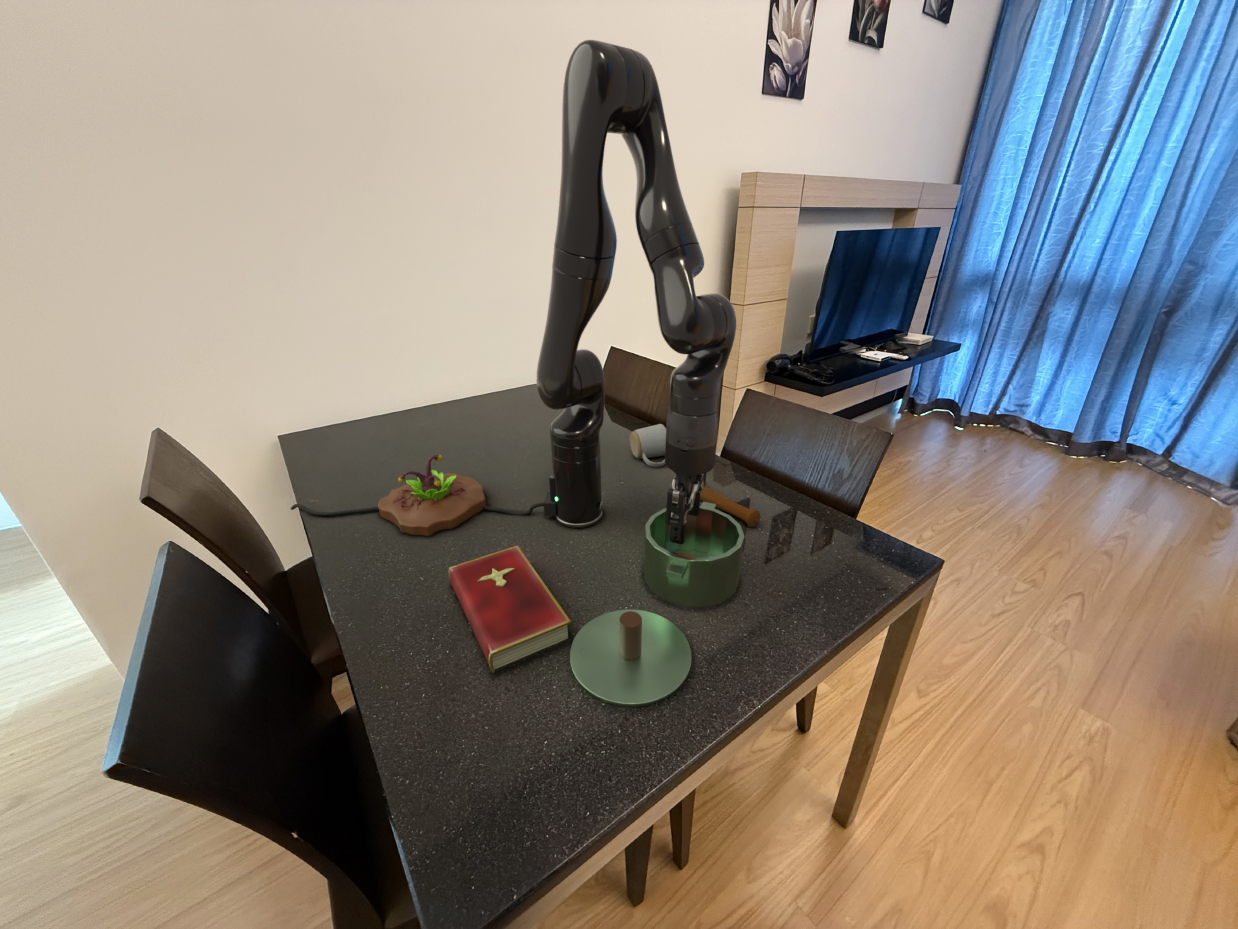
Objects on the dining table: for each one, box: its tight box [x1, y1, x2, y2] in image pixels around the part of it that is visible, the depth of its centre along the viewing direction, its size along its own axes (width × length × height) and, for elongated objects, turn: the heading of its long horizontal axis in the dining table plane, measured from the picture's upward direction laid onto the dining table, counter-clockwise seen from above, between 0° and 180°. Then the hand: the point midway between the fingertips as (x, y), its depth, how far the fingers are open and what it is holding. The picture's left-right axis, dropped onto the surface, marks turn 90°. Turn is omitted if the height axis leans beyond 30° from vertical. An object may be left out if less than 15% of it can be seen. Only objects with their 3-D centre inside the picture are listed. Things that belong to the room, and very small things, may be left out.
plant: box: [377, 453, 487, 537], centre depth 107 cm, size 20×20×11 cm
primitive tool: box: [700, 484, 761, 528], centre depth 108 cm, size 19×6×4 cm, turn 38°
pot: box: [643, 501, 745, 608], centre depth 87 cm, size 16×21×10 cm
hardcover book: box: [448, 545, 572, 674], centre depth 81 cm, size 12×21×4 cm, turn 30°
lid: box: [569, 608, 693, 708], centre depth 72 cm, size 17×17×7 cm
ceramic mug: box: [629, 423, 666, 468], centre depth 127 cm, size 11×8×8 cm
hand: (685, 527), depth 85 cm, fingers open, 8 cm apart
